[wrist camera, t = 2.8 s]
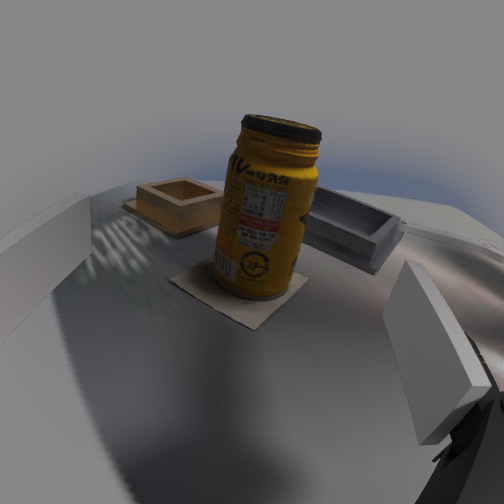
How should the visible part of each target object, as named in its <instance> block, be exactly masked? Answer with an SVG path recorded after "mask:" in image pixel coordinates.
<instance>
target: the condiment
mask: <svg viewBox="0 0 504 504" xmlns="http://www.w3.org/2000/svg"><path fill="white" fill-rule="evenodd" d="M241 124H242V125H241V133H240V135H239V137H238V139H237V141H236V143H237V148H236V149H235V151H234V152H233V154H232V155H231V156H230V158H229V163H228V169H227V175H226V181H225V187H224V194H223V200H222V207H221V214H220V220H219V227H218V234H217V241H216V248H215V256H214V257H212V258H211V259H209V260H206V261H205V262H201V263H199V264H198V265H196V266H194V267H192V268H190V269H188V270H186V271H184V272H181V273H178V274H177V275H175V276H173V277H171V278H169V279H170V280H171V281H173V282H174V283H176V284H177V285H178V286H179V287H180V288H182V289H184V290H185V291H187V292H188V293H190V294H192V295H193V296H195V297H196V298H197V299H199V300H201V301H202V302H204V303H206V304H208V305H210V306H211V307H213V308H214V309H215V310H216V311H220V312H222V313H224V314H226V315H228V316H229V317H231V318H232V319H234V320H235V321H237V322H240V323H242V324H244V325H246V326H247V327H249V328H251V329H253V330H255V329H257V328H258V327H259V326H260V325H261V324H262V323H263V322H264V321H265V320H266V319H267V318H268V317H269V316H270V315H271V314H272V313H274V312H275V311H276V310H277V309H278V308H279V307H280V306H281V305H282V304H283V303H285V302H286V301H287V300H288V299H289V298H290V297H291V296H292V295H293V294H294V293H295V292H296V291H297V290H299V289H300V288H301V286H302V285H304V284H305V283H306V282H307V280H308V279H309V278H307V277H304V276H303V275H301V274H298V273H295V272H293V271H294V268H295V265H296V261H297V257H298V253H299V251H300V245H301V243H302V239H303V235H304V230H305V227H306V224H307V219H308V215H309V211H310V207H311V204H312V201H313V197H314V192H315V188H316V183H317V181H318V180H317V179H318V172H317V169H316V166H315V161H316V160H317V158H318V156H319V153H318V151H319V150H318V147H319V145H320V141H321V139H322V138H321V135H322V133H321V132H320V131H319V129H317V128H315V127H312V126H309V125H305V124H301V123H297V122H294V121H289V120H285V119H280V118H274V117H268V116H262V115H252V114H249V115H245V116H244V118H243V120H242V121H241ZM208 274H210V275H208ZM247 301H249V302H251V303H247ZM240 302H246V303H245V304H241V303H240Z"/></svg>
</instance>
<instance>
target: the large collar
mask: <svg viewBox="0 0 504 504" xmlns="http://www.w3.org/2000/svg"><path fill="white" fill-rule="evenodd" d="M400 219H401V218H400V217H398V216H396V215H393V214H391V213H389V212H386V211H384V210H381V209H379V208H376V207H374V206H372V205H369V204H367V203H364V202H362V201H359V200H356V199H354V198H351V197H349V196H346V195H344V194H341V193H338V192H336V191H333V190H330V189H328V188H325V187H322V186H319V185H317V184H316V188H315V192H314V197H313V201H312V204H311V207H310V211H309V215H308V219H307V224H306V227H305V230H304V235H303V239H302V242H304V243H306V244H308V245H310V246H313V247H315V248H317V249H319V250H321V251H324V252H326V253H328V254H330V255H332V256H334V257H336V258H339V259H341V260H343V261H345V262H347V263H349V264H351V265H354V266H356V267H358V268H360V269H362V270H364V271H366V272H368V273H371V274H373V275H375V274H376V273H377V271H378V270H379V269H380V267H381V266H382V265H383V263H384V262H385V261H386V259H387V258H388V256H389V255H390V254H391V252H392V251H393V250H394V248H395V247H396V245H397V244H398V243H399V241H400V240H401V238H402V237H403V234H404V232H401V231H399V230H397V228H398V225H399V222H400Z"/></svg>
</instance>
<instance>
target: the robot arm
mask: <svg viewBox="0 0 504 504" xmlns="http://www.w3.org/2000/svg"><path fill="white" fill-rule="evenodd" d="M91 253H92V243H91V223H90V195H86V194H80V193H74V194H73V195H71V196H69V197H67V198H66V199H64V200H62V201H60V202H59V203H57V204H55V205H53V206H52V207H50V208H48V209H46V210H45V211H43V212H42V213H40V214H38V215H36V216H35V217H33V218H32V219H30V220H28V221H27V222H25V223H24V224H22V225H21V226H19V227H18V228H16V229H14V230H13V231H11V232H10V233H8V234H7V235H5V236H4V237H2V238H1V239H0V346H1V344H2V343H3V342H4V341H5V340H6V339H7V338H8V337H9V335H10V334H11V333H12V332H13V331H14V330H15V329H16V328H17V327H18V326H19V325H20V323H21V322H22V321H23V320H24V319H25V318H26V317H27V316H28V315H29V314H30V313H31V312H32V311H33V310H34V309H35V308H36V307H37V306H38V305H39V304H40V303H41V302H42V300H43V299H44V298H45V297H46V296H47V295H48V294H49V293H50V292H51V291H52V290H53V289H54V288H55V287H57V286H58V285H59V284H60V283H61V282H62V281H63V280H64V279H65V278H66V277H67V276H68V275H69V274H70V273H71V272H72V271H73V270H74V269H75V268H76V267H77V266H78V265H80V264H81V263H82V262H83V261H84V260H85V259H86V258H87V257H88V256H89V255H90V254H91ZM382 317H383V320H384V323H385V326H386V329H387V332H388V335H389V338H390V341H391V345H392V348H393V351H394V354H395V357H396V361H397V364H398V367H399V371H400V374H401V378H402V381H403V385H404V388H405V392H406V396H407V399H408V403H409V407H410V411H411V415H412V419H413V423H414V427H415V431H416V436H417V440H418V444H419V445H436V444H439V443H440V442H441V441H442V440H443V439H444V438H445V437H446V436H447V435H448V434H449V433H450V436H451V440H452V442H451V443H450V444H449V445H448V446H447V447H446V448H445V449H444V450H443V451H441V452H440V453H439V454H438V455H437V456H436V457H435V458H434V459H433V460H432V461H433V462H436V461H437V460H438V459H439V458H441V459H440V461H439V462H438V464H437V466H436V468H435V470H434V472H433V474H432V475H431V477H430V479H429V481H428V482H427V484H426V486H425V488H424V489H423V491H422V493H421V494H420V496H419V498H418V499H417V501H416V502H415V504H504V392H502V391H501V392H500V391H499V388H498V386H497V384H496V382H495V380H494V378H493V376H492V374H491V372H490V370H489V368H488V366H487V364H486V363H484V362H485V361H484V359H483V357H482V355H480V351H479V349H478V348H477V346H476V344H475V342H474V341H473V340H472V339H471V338H470V337H469V336H468V335H467V334H466V333H465V332H463V330H462V328H461V326H460V325H459V323H458V321H457V319H456V318H455V316H454V314H453V313H452V311H451V309H450V308H449V306H448V304H447V303H446V301H445V299H444V298H443V296H442V295H441V293H440V291H439V290H438V288H437V287H436V285H435V284H434V282H433V280H432V279H431V277H430V276H429V274H428V273H427V271H426V270H425V268H424V267H423V265H422V264H421V263H418V262H414V261H409V260H405V262H404V265H403V267H402V270H401V272H400V274H399V277H398V279H397V281H396V284H395V286H394V288H393V291H392V293H391V295H390V297H389V300H388V302H387V304H386V306H385V308H384V310H383V312H382Z"/></svg>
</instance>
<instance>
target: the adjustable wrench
mask: <svg viewBox="0 0 504 504" xmlns="http://www.w3.org/2000/svg"><path fill="white" fill-rule="evenodd" d="M397 230H399V231H402V232H406V233H410V234H414V235H418V236H422V237H425V238H429V239H433V240H437V241H440V242H444V243H448V244H451V245H455V246H458V247H462V248H465V249H469V250H472V251H476V252H479V253H481V254H484V255H486V256H488V257H490V258H492V259H494V260H496V261H498V262H500V263H502V264H504V253H502V252H500V251H499V249H500V246H498V245H496V244H494V243H492V242H489V241H486V240H483V239H481V240H479V241H477V240H472V239H469V238H466V237H463V236H459V235H456V234H453V233H449V232H446V231H443V230H439V229H436V228H432V227H429V226H425V225H422V224H418V223H414V222H411V221H407V220H403V219H400V222H399V225H398V228H397Z"/></svg>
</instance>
